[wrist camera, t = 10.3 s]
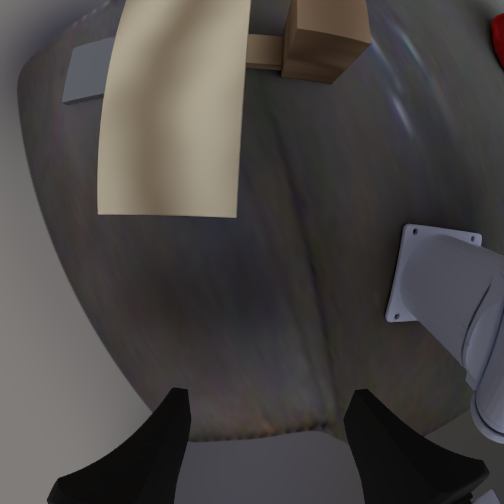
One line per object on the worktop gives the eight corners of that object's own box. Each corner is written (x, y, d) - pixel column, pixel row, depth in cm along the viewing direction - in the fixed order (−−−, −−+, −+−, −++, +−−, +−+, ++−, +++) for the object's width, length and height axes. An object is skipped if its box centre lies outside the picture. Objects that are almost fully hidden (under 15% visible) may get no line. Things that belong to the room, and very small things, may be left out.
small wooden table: (252, 3, 14) (253, -28, 10) (238, 208, 18) (236, 217, 14) (149, 10, 13) (131, -15, 10) (125, 206, 18) (97, 214, 14)
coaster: (133, 41, 15) (126, 34, 13) (122, 96, 16) (114, 91, 15) (82, 53, 15) (73, 48, 13) (71, 105, 16) (61, 102, 15)
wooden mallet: (330, 44, 15) (364, -5, 8) (331, 84, 16) (371, 43, 9) (129, 43, 14) (86, 2, 8) (122, 82, 15) (70, 50, 9)
